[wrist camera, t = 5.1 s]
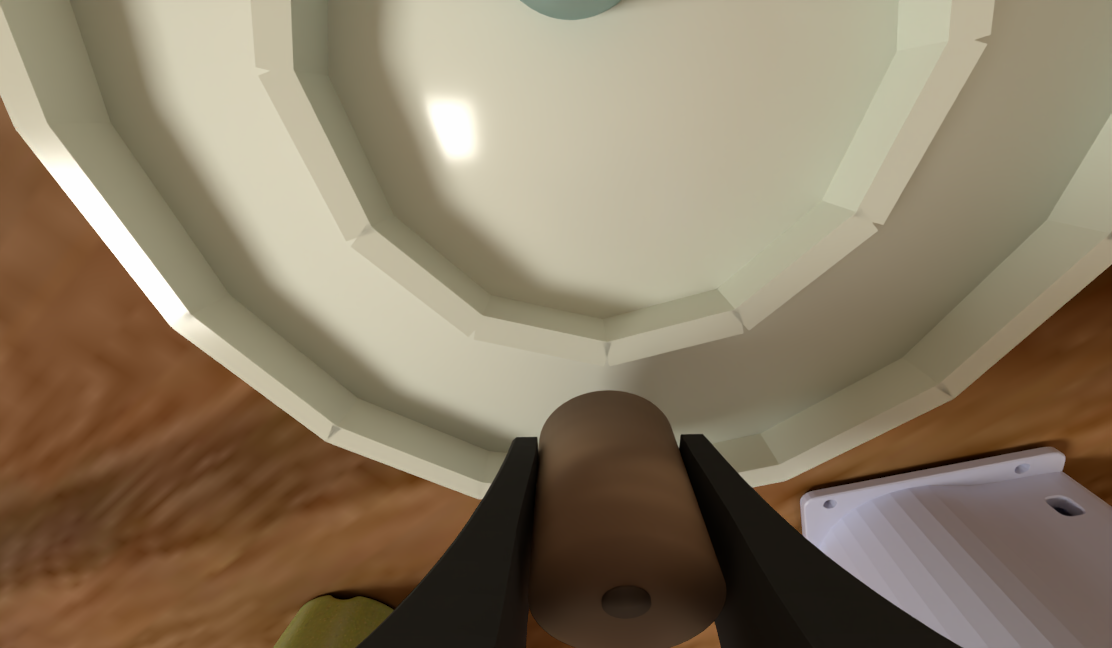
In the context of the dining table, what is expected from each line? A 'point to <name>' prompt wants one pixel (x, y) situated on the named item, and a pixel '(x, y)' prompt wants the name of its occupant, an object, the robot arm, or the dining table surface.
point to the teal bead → (570, 8)
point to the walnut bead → (618, 530)
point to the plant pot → (333, 623)
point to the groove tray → (584, 204)
